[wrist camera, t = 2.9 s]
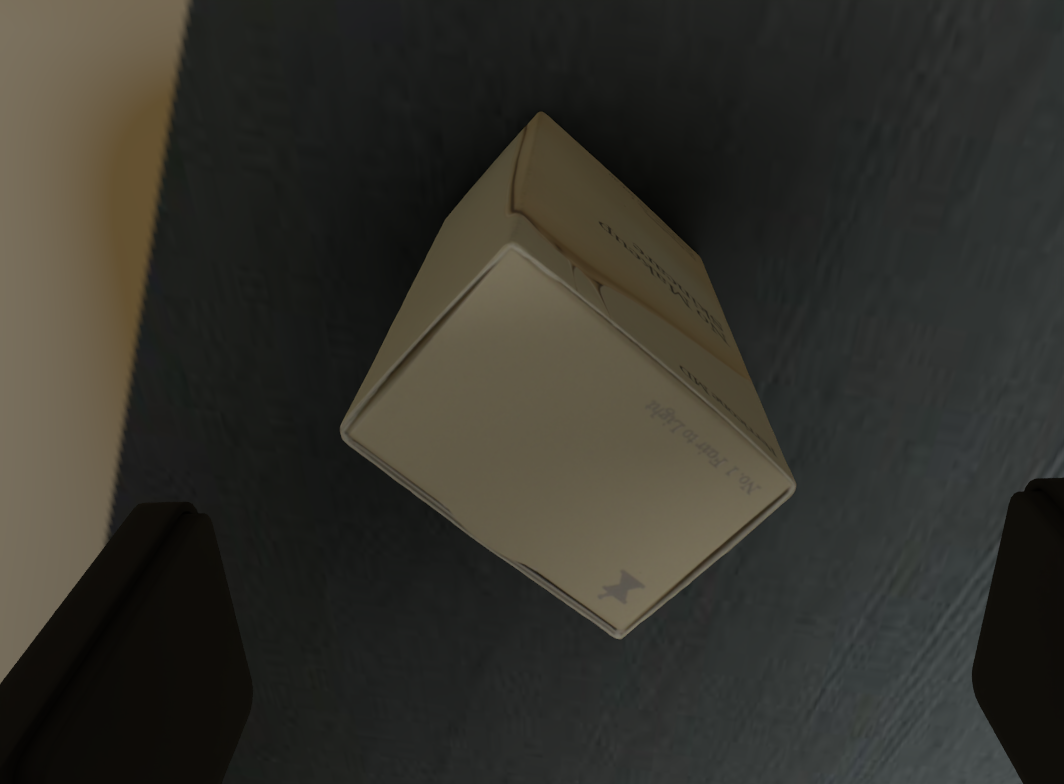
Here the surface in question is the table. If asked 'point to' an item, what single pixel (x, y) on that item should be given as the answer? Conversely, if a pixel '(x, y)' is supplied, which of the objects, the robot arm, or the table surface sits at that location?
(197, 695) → the robot arm
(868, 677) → the table surface
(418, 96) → the table surface
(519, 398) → the cosmetic box
